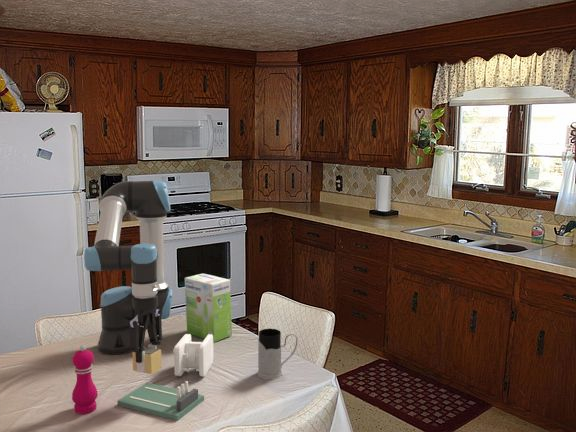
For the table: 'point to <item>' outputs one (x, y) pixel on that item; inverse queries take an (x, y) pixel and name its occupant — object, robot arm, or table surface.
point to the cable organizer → (193, 355)
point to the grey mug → (270, 353)
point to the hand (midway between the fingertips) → (147, 368)
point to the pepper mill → (84, 382)
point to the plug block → (150, 360)
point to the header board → (162, 400)
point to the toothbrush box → (208, 306)
